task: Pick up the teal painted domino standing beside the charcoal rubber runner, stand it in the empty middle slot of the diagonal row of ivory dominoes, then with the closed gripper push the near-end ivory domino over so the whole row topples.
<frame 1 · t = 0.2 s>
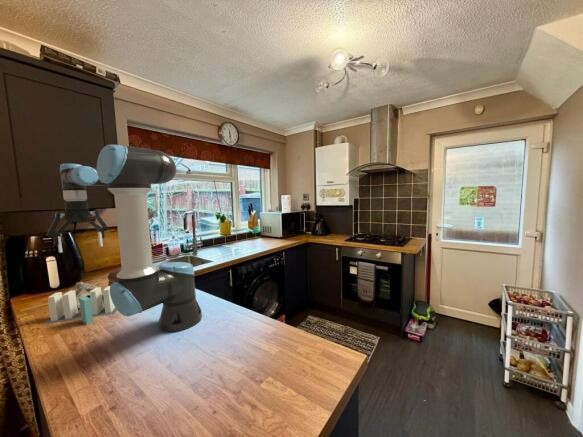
hand: (81, 248, 104), 27 cm above the counter, fingers open, 13 cm apart
domino 4: (71, 315, 99), resting on runner
bread: (138, 292, 124), on the counter
domino 2: (98, 311, 102), resting on runner
domino 5: (58, 317, 98), resting on runner
rock: (85, 301, 116), on the counter
teal domino: (87, 322, 94), on the counter
runner: (85, 314, 101), on the counter
domino 1: (110, 310, 103), resting on runner
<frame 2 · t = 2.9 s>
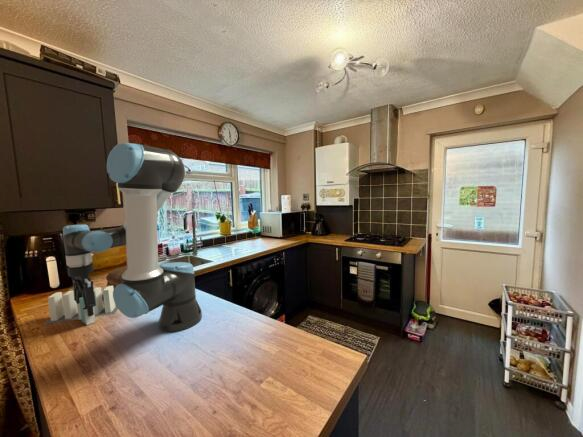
hand: (87, 320, 94), 1 cm above the counter, fingers open, 7 cm apart
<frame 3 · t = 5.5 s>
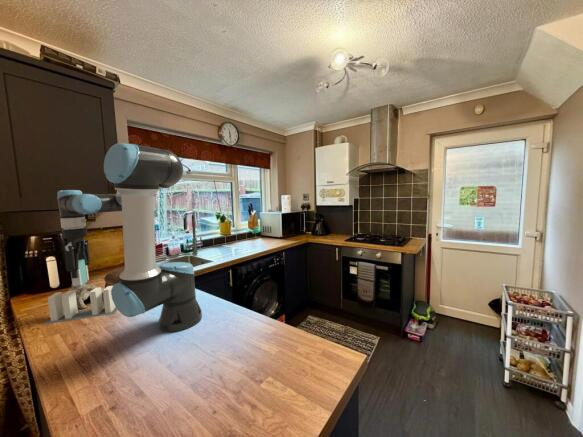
hand: (81, 282, 99), 14 cm above the counter, fingers closed on teal domino, 5 cm apart
bread: (135, 294, 122), on the counter
teal domino: (81, 284, 99), point 13 cm above the counter, touching gripper
everything else where it was.
when the fingers open (2 cm above the counter, at t = 7.9 s): teal domino stays where it is, resting on runner.
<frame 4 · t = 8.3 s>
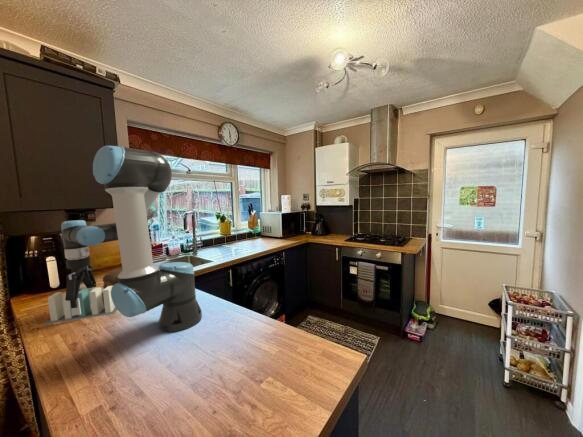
hand: (84, 308, 100), 3 cm above the counter, fingers open, 11 cm apart
bread: (134, 295, 121), on the counter
teal domino: (85, 313, 101), resting on runner
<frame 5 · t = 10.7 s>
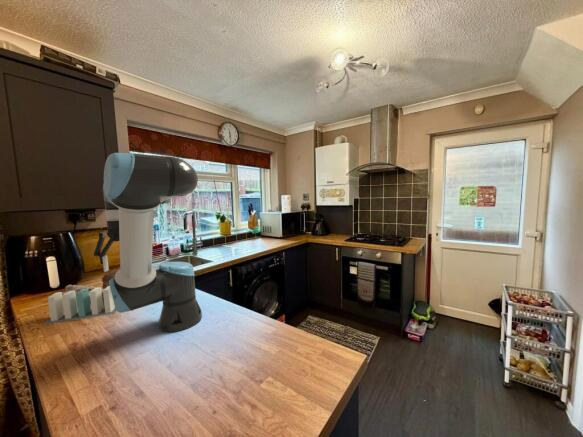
hand: (122, 269, 103), 18 cm above the counter, fingers open, 11 cm apart
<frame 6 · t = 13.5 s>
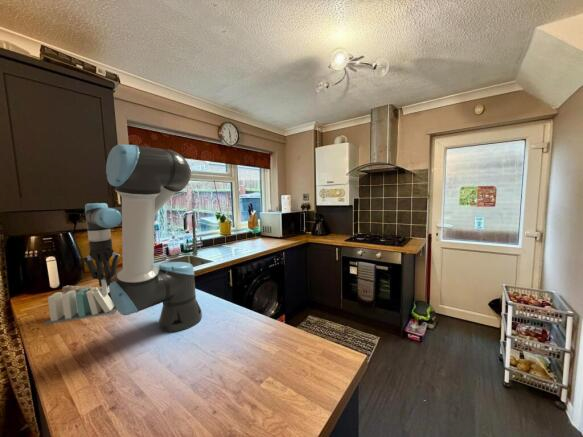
hand: (106, 293, 103), 8 cm above the counter, fingers closed
domino 2: (97, 311, 102), point 1 cm above the counter, tilted 7°, touching runner
domino 1: (110, 309, 103), point 1 cm above the counter, tilted 22°, touching runner
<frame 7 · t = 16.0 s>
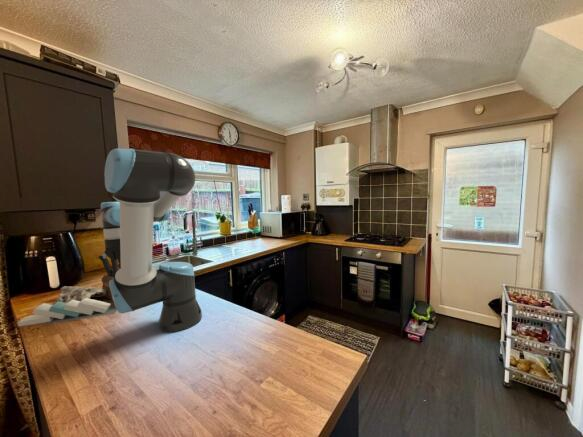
hand: (121, 291, 103), 8 cm above the counter, fingers closed
domino 4: (67, 314, 99), point 1 cm above the counter, tilted 64°, touching domino 5, teal domino
domino 2: (95, 310, 102), point 1 cm above the counter, tilted 65°, touching domino 1, runner, teal domino
domino 5: (54, 316, 97), point 1 cm above the counter, tilted 93°, touching domino 4, runner
teal domino: (81, 312, 100), point 1 cm above the counter, tilted 64°, touching domino 2, domino 4, runner
domino 1: (107, 308, 103), point 1 cm above the counter, tilted 65°, touching domino 2
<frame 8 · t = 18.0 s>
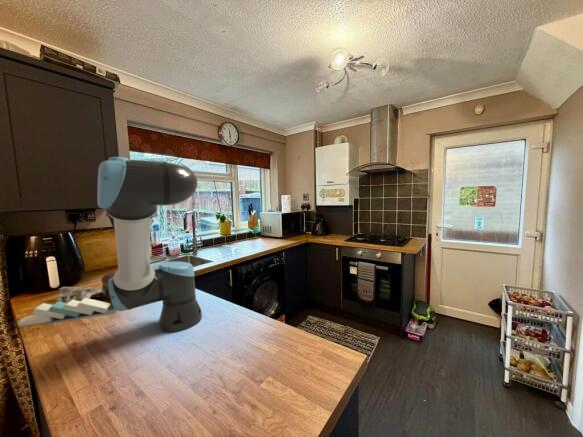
hand: (128, 250, 102), 26 cm above the counter, fingers closed
at the end: domino 5 tilted 93°; teal domino tilted 64°; teal domino 1.1 cm from the runner (horizontally) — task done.
